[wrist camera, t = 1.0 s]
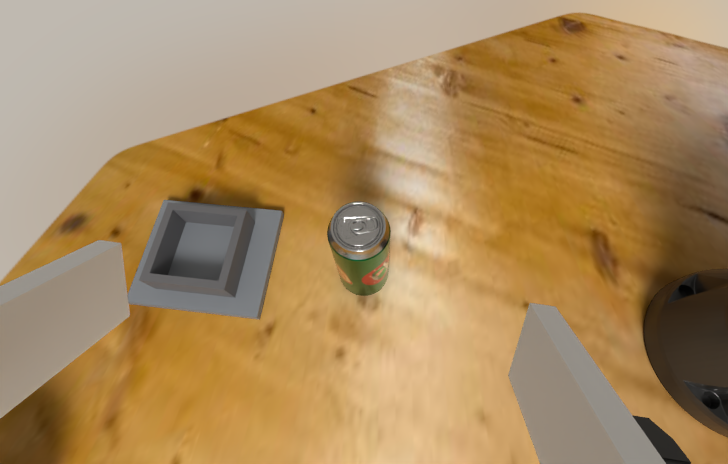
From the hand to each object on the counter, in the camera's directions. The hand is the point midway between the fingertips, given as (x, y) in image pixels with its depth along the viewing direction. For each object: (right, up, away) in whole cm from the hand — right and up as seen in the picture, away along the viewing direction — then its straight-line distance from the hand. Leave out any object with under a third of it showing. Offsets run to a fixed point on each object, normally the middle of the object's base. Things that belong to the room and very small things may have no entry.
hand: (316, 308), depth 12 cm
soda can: (+2, -2, +28) cm, 28 cm away
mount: (-15, 0, +30) cm, 33 cm away
